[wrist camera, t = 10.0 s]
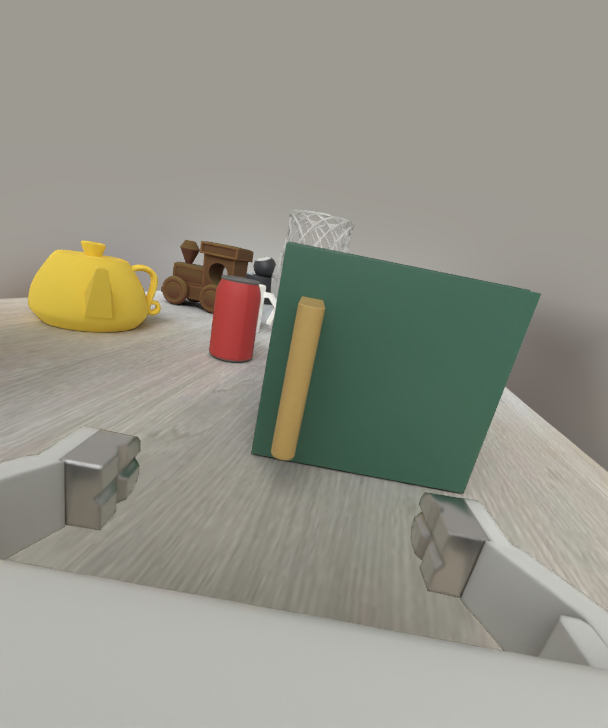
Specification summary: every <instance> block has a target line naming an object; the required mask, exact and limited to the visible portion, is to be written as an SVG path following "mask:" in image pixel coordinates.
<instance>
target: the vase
mask: <svg viewBox="0 0 608 728" xmlns="http://www.w3.org/2000/svg"><path fill="white" fill-rule="evenodd" d="M293 212H296V213H295V214H293ZM303 212H305V213H312V214H310V215H308V216H307V215H305V214H304V213H303ZM299 213H301V214H302V215H303V216H304V218H303V217H299V216H297V214H299ZM314 215H316V216H318V217H319V218H320V219H322V220H320V221H319V222H317V221H312V220H310V219H309V217H311V216H314ZM320 215H322V216H327V218H323V217H321V216H320ZM291 216H292V219H291ZM306 218H307V219H306ZM298 219H299V220H300V222H298ZM329 219H334V220H335V221H336V222H337V223H338V224H337V225H335V224H328V223H327V222H326V220H329ZM338 219H339V220H342V221H344V222H341V223H340V222H339V221H338ZM304 220H306V221H309V222H306V223H305V222H304ZM323 221H324V223H322V222H323ZM296 222H297V223H296ZM293 223H295V225H296V227H295V229H294V230H293V232H292V224H293ZM301 223H303V224H302V225H301V226H300V224H301ZM309 223H311V225H312V227H311V228H310V229H309V227H308V226H307V224H309ZM345 223H347V225H348V226H342V225H341V224H345ZM349 223H350V224H352V225H351V226H350V224H349ZM318 224H323V225H321V226H319V225H318ZM304 225H305V226H306V227H307V229H308V231H307V232H306V233H305V234H304V235H303V232H302V229H301V227H303V226H304ZM298 226H299V227H298ZM315 226H317V228H315ZM325 226H327V227H328V229H329V230H328V231H327V232H326V233H324V231H323V230H322V228H321V227H325ZM331 226H333V227H331ZM344 227H345V228H347V229H345V228H344ZM313 228H314V229H313ZM318 228H319V229H320V231H321V232H322V233H323V234H324V235H323V236H322V237H321V238H320V237H319V234H318V232H317V229H318ZM334 228H335V229H334ZM338 228H341V231H342V233H341V234H340V235H338V234H337V232H336V231H335V230H336V229H338ZM353 228H354V224H353V223H352V222H351V221H347V220H346V219H343V218H340V217H333V216H331V215H329V214H325V213H316V212H314V211H305V210H302V211H300V210H292V211H290V216H289V228H288V232H287V236H286V239H285V243H284V247H283V250H282V251H281V255H280V258H279V260H278V261H277V264H276V266H275V269H274V272H273V275H272V281H271V293H273V294H274V296H275V297H276V299H277V296H278V290H279V284H280V278H281V272H282V266H283V264H282V258H283V257H284V254H285V248H286V243H287V242H292V238H293V237H294V235H295V234H296V232H297V231H298V233H299V236H300V241H299V242H298V243H299V244H301V243H302V244H304V245H306V243H305V238H306V237H307V236H308V235H309V234H310V233H311V236H312V238H313V241H314V243H315V244H314V245H313V246H314V247H317V245H318V244H319V243H320V247H321V248H323V247H322V244H321V239H323V238H324V237H325V238H326V240H327V243H328V245H329V247H328V249H330V250H333V249H334V248H336V251H338V247H337V243H338V242H339V245H340V250H339V252H340V251H341V252H344V253H348V248H349V242H350V238H351V234H352V231H353ZM312 229H313V230H312ZM348 230H349V234H347V231H348ZM313 231H315V233H316V235H317V237H318V241H317V242H316V241H315V239H314V236H313V234H312V232H313ZM332 231H334V233H335V234H336V236H337V238H336V239H335V237H334V234H333V232H332ZM300 232H301V233H300ZM289 233H290V237H289V239H288V236H289ZM329 233H331V235H332V238H333V242H332V243H331V244H330V243H329V240H328V238H327V236H326V235H327V234H329ZM345 234H346V239H345ZM301 235H302V237H301ZM343 236H344V243H343V245H342V246H341V241H340V239H341V238H342V237H343ZM339 237H340V238H339ZM337 239H338V240H337ZM287 240H288V241H287ZM336 240H337V242H336ZM333 243H334V245H333ZM332 245H333V247H332V248H331V246H332ZM344 245H345V247H344V250H342V248H343V246H344ZM274 277H275V278H274ZM273 307H274V306H273Z"/></svg>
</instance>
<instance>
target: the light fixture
mask: <svg viewBox="0 0 608 728" xmlns="http://www.w3.org/2000/svg"><path fill="white" fill-rule="evenodd" d="M275 266H276V263H275V261H274V260H273V259H272V258H271V257H263V258H259V259H256V260H255V262H254V271H255V273H256V274H254V273H253V272H251V271H249V272H248V273H246V278H247V279H251V280H255V281H258V282H260V284H262V285H265V286H266V292H268V293H271V281H272V275H273V272H274V269H275ZM264 304H272V303H271V301H270V299H269V298H264Z"/></svg>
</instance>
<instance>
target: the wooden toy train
mask: <svg viewBox="0 0 608 728" xmlns="http://www.w3.org/2000/svg"><path fill="white" fill-rule="evenodd" d="M180 247H181V250H182V253H183V256H184V259H185V262H186V263H184V262H176V263H174V268H173V276H170V277H168V278H167V279H166V280H165V281H164V283H163V286H162V288H161V292H163V295H164V297H165V298H166V300H168V301H169V302H170V303H172V304H181V303H183V302H184V301H185V300H186V298H187V299H188V300H189V301H192V302H200V304H201V306H202V307H203V309H205V310H206V311H207V312H209V313H214V304H215V296H216V289H217V286H218V284H219V282H220V281H221V279H222V277H221V276H222V275H223V271H224V269H225V268H226V270H227V275H229V276H236V277H242V278H246V273H247V266H248V262H252V259H253V252H252V251H250V250H246V249H242V248H238V247H234V246H229V245H224V244H219V243H213V242H205V241H201V248H200V250H199V248H198V246H197V244H196V242H194V241H189V240H185V241H184V243H183V244H182V245H181V246H180ZM199 251H200V253H204V265H203V266H201V265H196V264H192V263H193V261H194V259H195V258H196V256H197V254H198V253H199Z"/></svg>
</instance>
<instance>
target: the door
mask: <svg viewBox="0 0 608 728" xmlns="http://www.w3.org/2000/svg"><path fill="white" fill-rule="evenodd" d="M540 295H541V294H540V293H536V292H531V291H526V290H521V289H516V288H511V287H506V286H501V285H496V284H491V283H486V282H481V281H476V280H471V279H466V278H461V277H456V276H451V275H447V274H442V273H437V272H432V271H427V270H422V269H417V268H412V267H407V266H402V265H397V264H392V263H387V262H382V261H377V260H372V259H367V258H362V257H357V256H352V255H347V254H342V253H338V252H333V251H328V250H323V249H318V248H313V247H308V246H303V245H298V244H293V243H288V242H287V243H286V248H285V254H284V261H283V266H282V272H281V278H280V284H279V290H278V296H277V302H276V308H275V314H274V320H273V326H272V332H271V338H270V344H269V350H268V356H267V362H266V368H265V374H264V380H263V386H262V392H261V398H260V404H259V410H258V416H257V422H256V428H255V434H254V440H253V446H252V452H251V453H252V454H257V455H262V456H267V457H272V458H277V459H280V460H288V461H294V462H299V463H304V464H310V465H315V466H320V467H326V468H331V469H336V470H341V471H347V472H352V473H357V474H363V475H368V476H373V477H379V478H384V479H389V480H395V481H400V482H405V483H411V484H416V485H421V486H426V487H432V488H437V489H442V490H448V491H453V492H458V493H464V490H465V488H466V485H467V483H468V480H469V477H470V475H471V472H472V470H473V467H474V465H475V462H476V459H477V457H478V454H479V452H480V449H481V447H482V444H483V441H484V439H485V436H486V434H487V431H488V429H489V426H490V424H491V421H492V418H493V416H494V413H495V411H496V408H497V406H498V403H499V400H500V398H501V395H502V393H503V390H504V388H505V385H506V382H507V380H508V377H509V374H510V372H511V370H512V367H513V365H514V362H515V359H516V356H517V354H518V352H519V349H520V347H521V344H522V341H523V339H524V336H525V334H526V331H527V328H528V326H529V323H530V321H531V318H532V316H533V313H534V311H535V308H536V306H537V303H538V300H539V298H540Z"/></svg>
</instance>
